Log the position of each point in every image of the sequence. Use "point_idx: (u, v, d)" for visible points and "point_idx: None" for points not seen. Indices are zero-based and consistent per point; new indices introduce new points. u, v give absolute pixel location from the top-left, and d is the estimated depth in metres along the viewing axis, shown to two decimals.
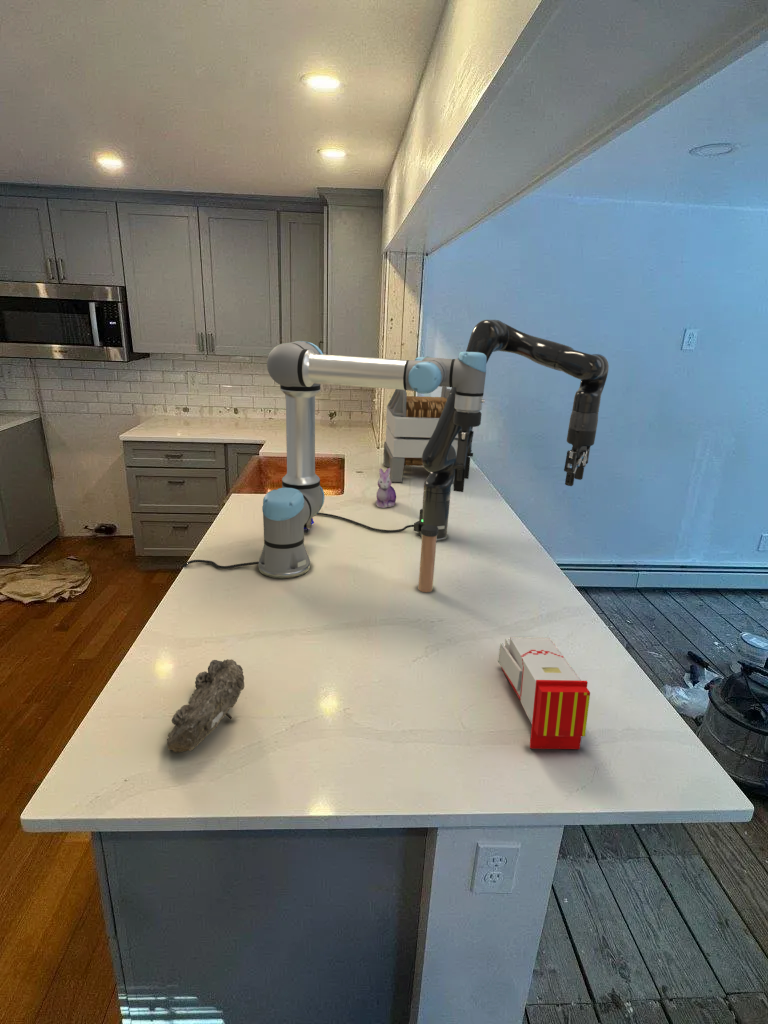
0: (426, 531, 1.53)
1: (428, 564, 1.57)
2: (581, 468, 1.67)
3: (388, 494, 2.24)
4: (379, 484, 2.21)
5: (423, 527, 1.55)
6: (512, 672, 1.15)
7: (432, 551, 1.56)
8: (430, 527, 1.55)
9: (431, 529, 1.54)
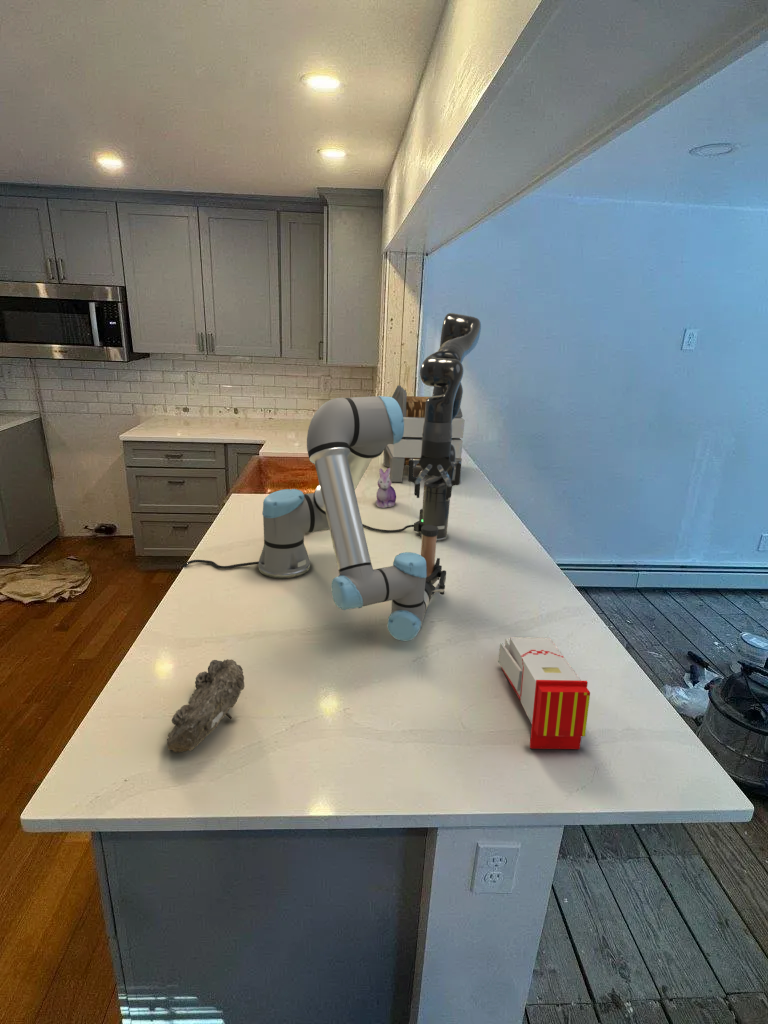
0: (426, 531, 1.53)
1: (428, 564, 1.57)
2: (446, 487, 1.50)
3: (388, 494, 2.24)
4: (379, 484, 2.21)
5: (423, 527, 1.55)
6: (512, 672, 1.15)
7: (432, 551, 1.56)
8: (430, 527, 1.55)
9: (431, 529, 1.54)
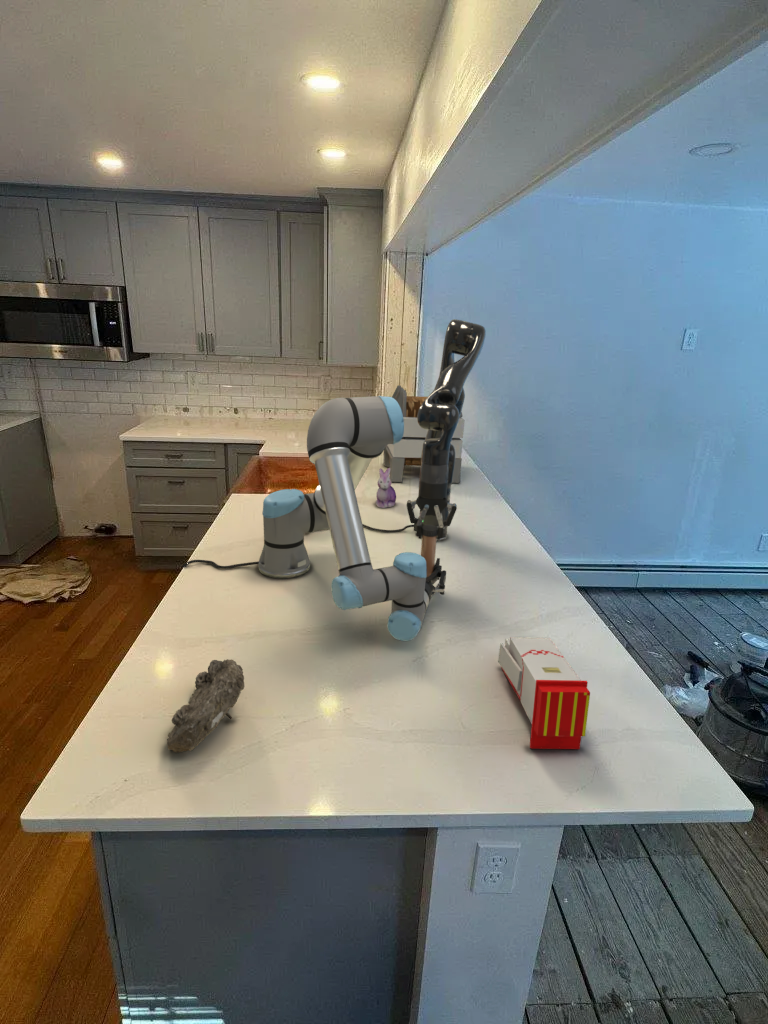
0: (426, 531, 1.53)
1: (428, 564, 1.57)
2: (438, 527, 1.54)
3: (388, 494, 2.24)
4: (379, 484, 2.21)
5: (423, 527, 1.55)
6: (512, 672, 1.15)
7: (433, 551, 1.56)
8: (430, 527, 1.55)
9: (431, 529, 1.54)
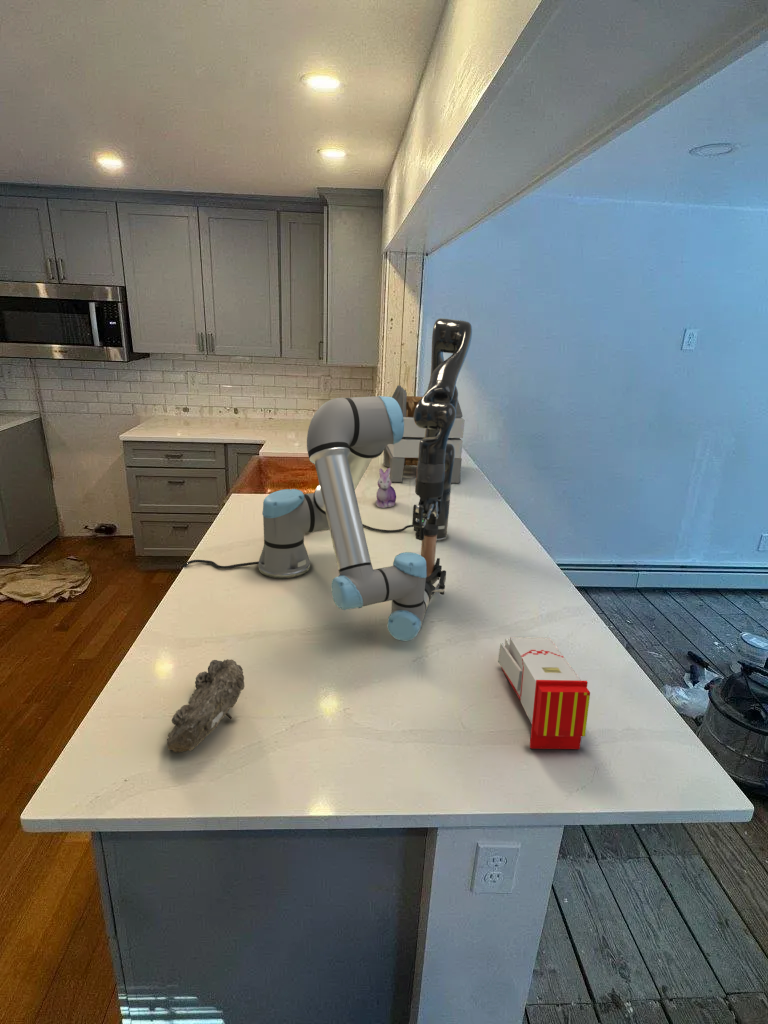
0: (438, 528, 1.55)
1: (428, 564, 1.57)
2: (433, 519, 1.57)
3: (388, 494, 2.24)
4: (379, 484, 2.21)
5: (432, 529, 1.53)
6: (512, 672, 1.15)
7: (432, 551, 1.56)
8: (428, 526, 1.55)
9: (433, 526, 1.56)
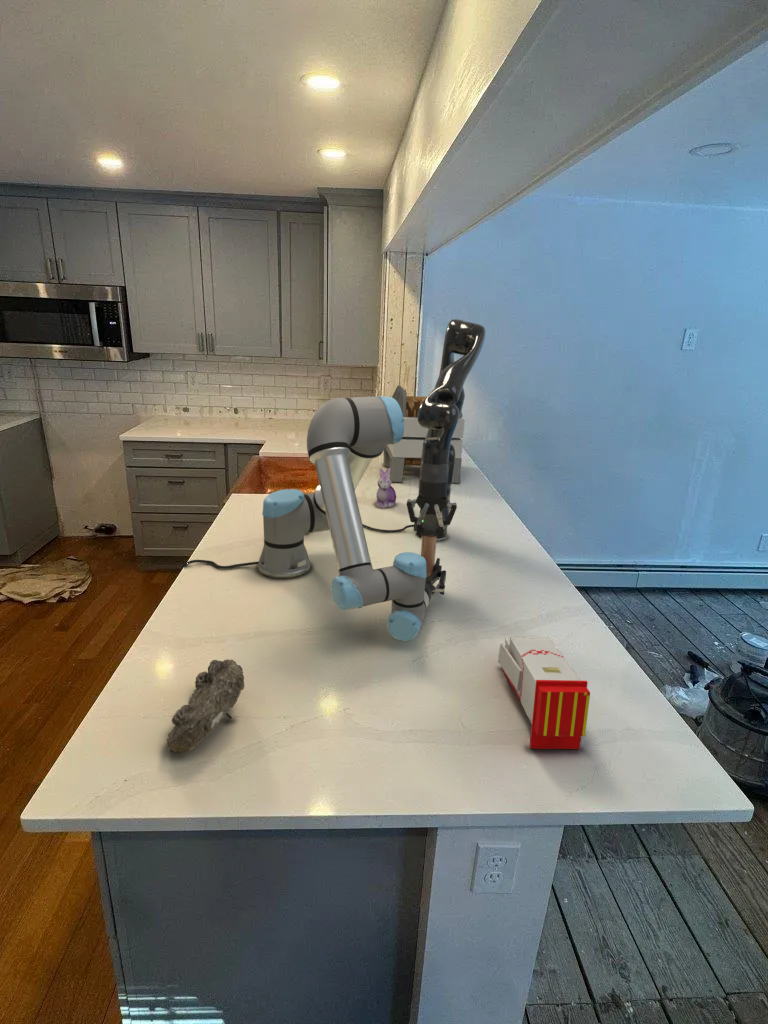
0: None
1: (428, 564, 1.57)
2: (438, 526, 1.54)
3: (388, 494, 2.24)
4: (379, 484, 2.21)
5: (432, 529, 1.53)
6: (512, 672, 1.15)
7: (432, 551, 1.56)
8: (428, 526, 1.55)
9: (433, 526, 1.56)
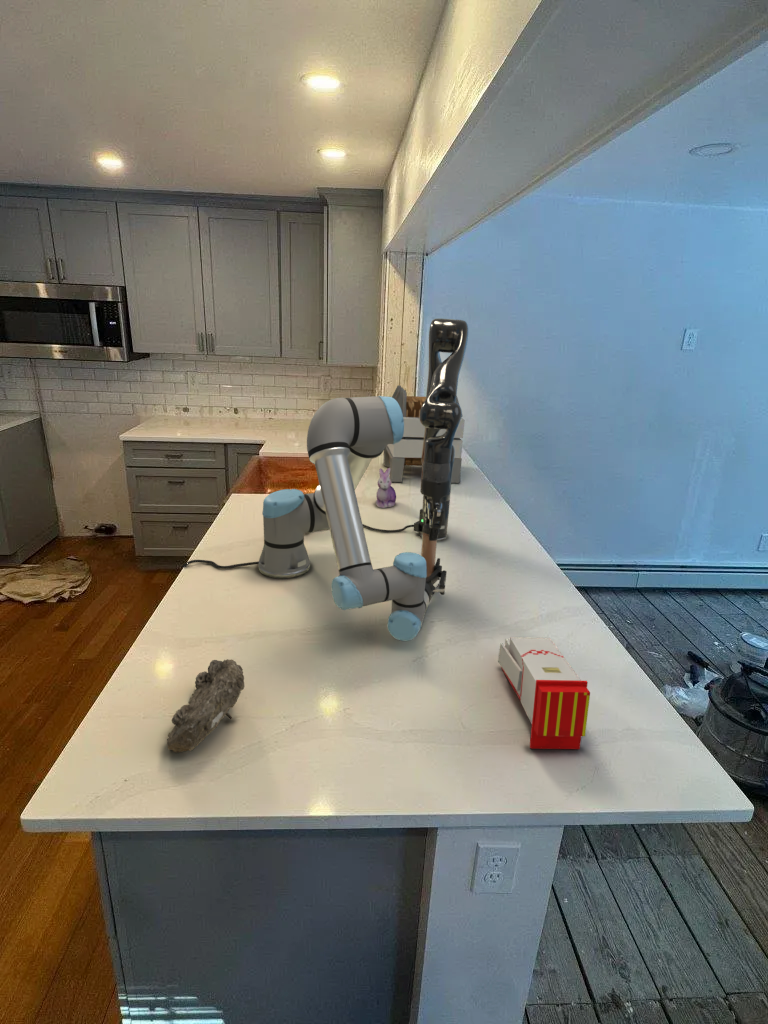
0: None
1: (429, 564, 1.56)
2: None
3: (388, 494, 2.24)
4: (379, 484, 2.21)
5: None
6: (512, 672, 1.15)
7: (433, 552, 1.56)
8: None
9: (428, 524, 1.56)
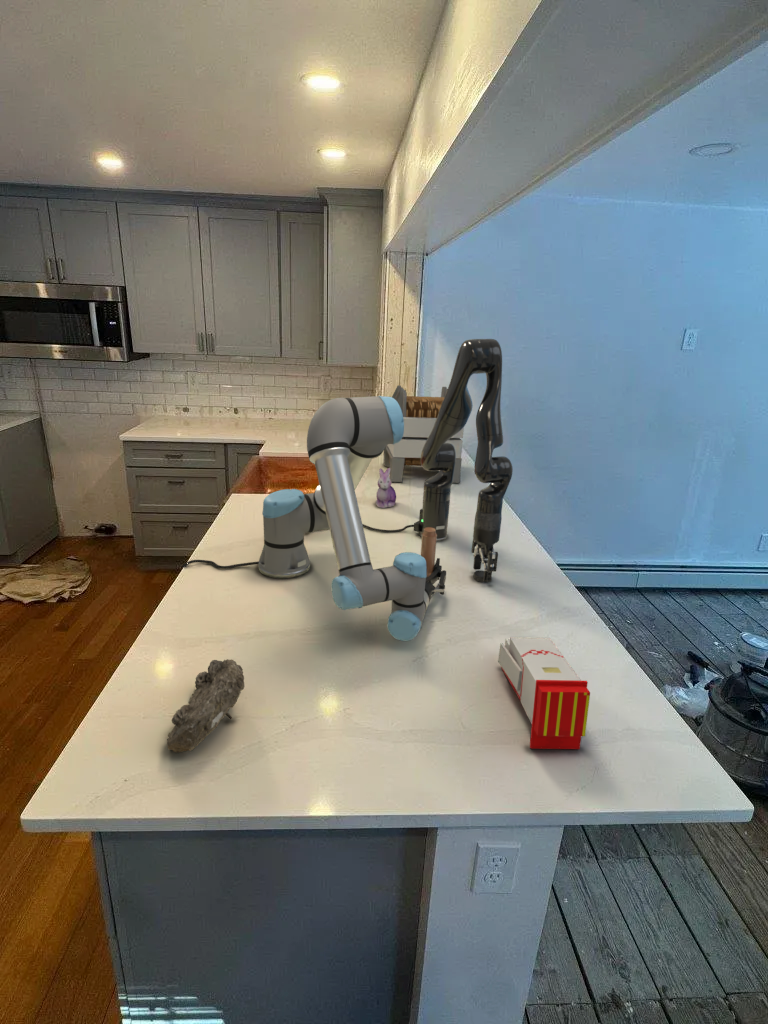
0: None
1: (428, 564, 1.57)
2: (479, 559, 1.71)
3: (388, 494, 2.24)
4: (379, 484, 2.21)
5: None
6: (512, 672, 1.15)
7: (432, 551, 1.56)
8: (482, 574, 1.68)
9: (478, 572, 1.69)
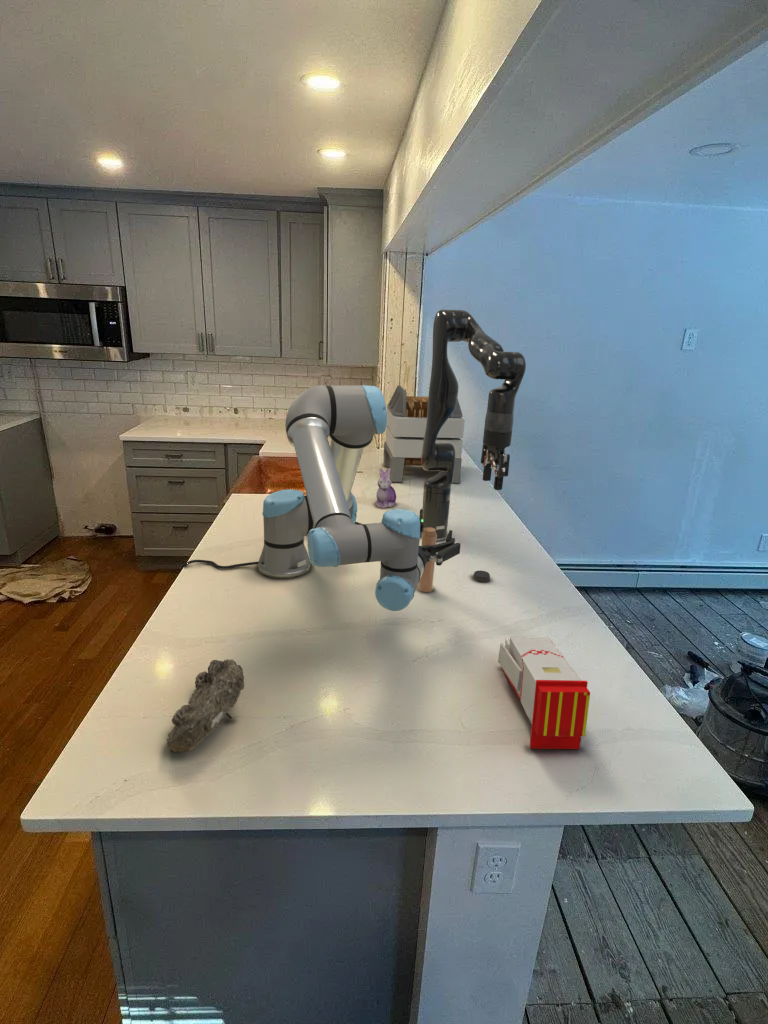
0: None
1: (428, 564, 1.57)
2: (489, 469, 1.62)
3: (388, 494, 2.24)
4: (379, 484, 2.21)
5: (486, 572, 1.69)
6: (512, 672, 1.15)
7: None
8: (482, 574, 1.68)
9: (478, 572, 1.69)
